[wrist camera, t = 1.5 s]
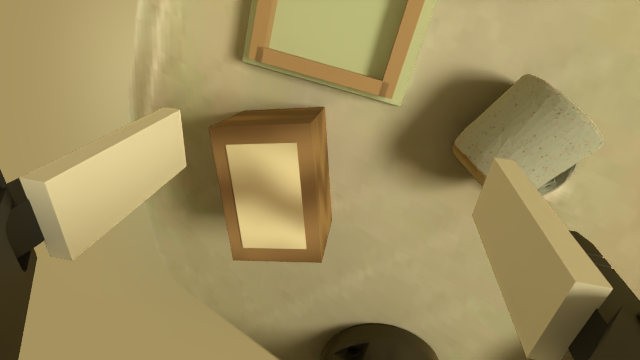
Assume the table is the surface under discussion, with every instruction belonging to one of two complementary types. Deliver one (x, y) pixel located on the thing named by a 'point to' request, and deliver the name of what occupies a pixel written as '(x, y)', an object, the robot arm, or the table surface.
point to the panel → (340, 42)
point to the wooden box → (274, 183)
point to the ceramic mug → (530, 135)
